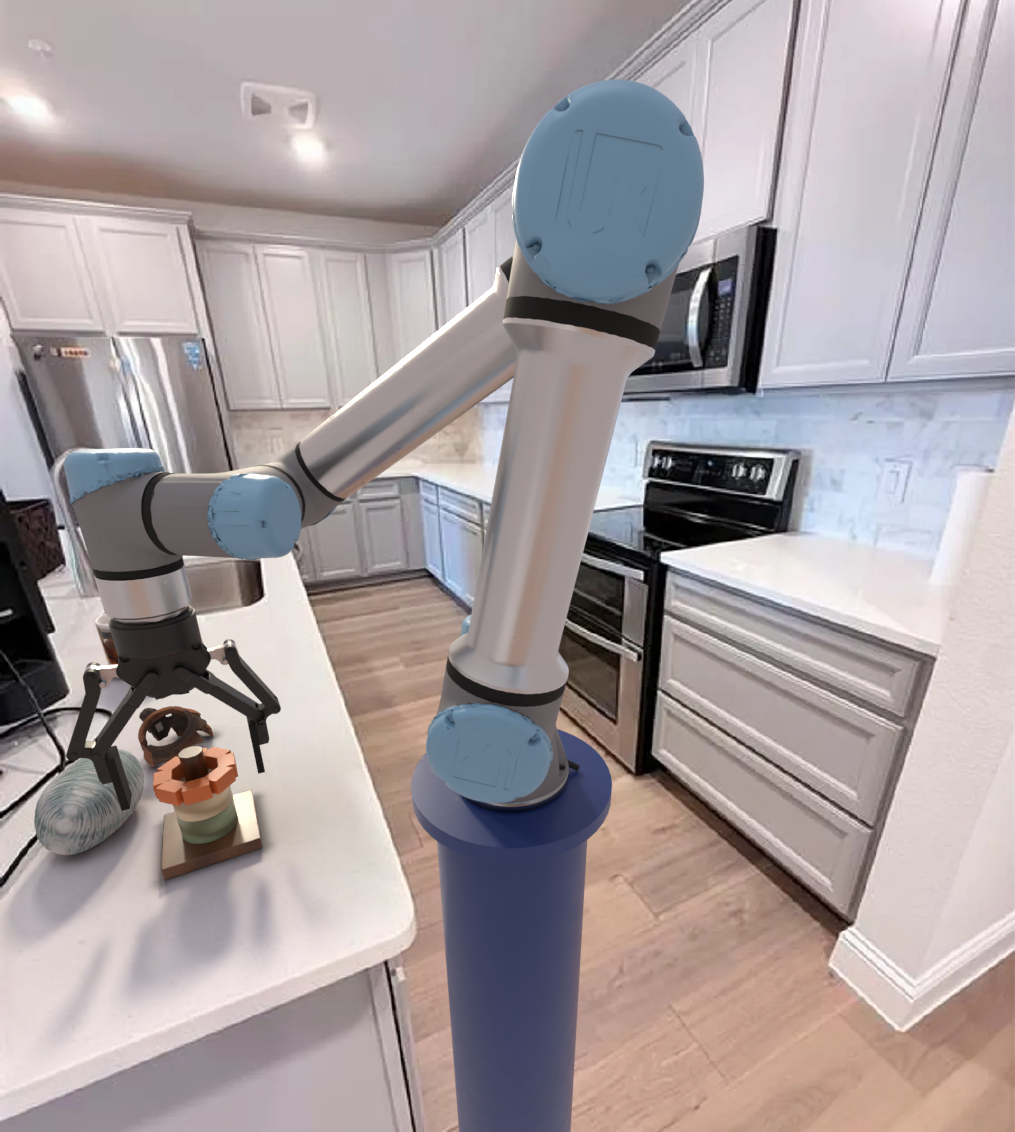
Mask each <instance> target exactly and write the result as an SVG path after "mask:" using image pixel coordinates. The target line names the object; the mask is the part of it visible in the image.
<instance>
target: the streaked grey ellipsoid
mask: <svg viewBox="0 0 1015 1132" xmlns="http://www.w3.org/2000/svg"><path fill="white" fill-rule="evenodd" d="M117 749H118V752H119V755H120V759H121V762H122V765H123V768H124V771H125V774H126V777H127V781H128V784H129V787H130V790H131V793H132V798H131V805H130V809H127V810H123V811H122V810H121V807H120V804H119V801H118V798H117V795H116V792H115V789H114V786H113V783H108V784H104V785H103V784H102V783H101V782H100V781H99V779H98V776H97V773H96V770H95V767H94V764H93V762H92V761H91V760H90V759H87V758H79V759H78V760H75V761H73V763H71V764H70V765H69V766H67V767H66V768H64V770H63V771H61V772H59V773H58V775H56V776H55V777H54V779H52V781H50V783H48V785H47V786H46V787H45V788H44V790H43V791H42V793H41V794H40V796H39V798H38V800H37V801H36V804H35V810H34V818H33V823H34V829H35V834H36V835H35V836H36V838H37V839H38V842H39V843H40V844H41V846H43V847H44V849H46V851H48V852H50V853H53V854H56V855H59V856H60V855H62V856H74V855H77V854H81V853H84V852H87V851H88V850H91V849H92V848H94V847H96V846H97V845H99V844H101V843H102V842H104V841H105V840H106V839H107V838H109V837H110V836H112V835H113V834H114V833H115V832H116V831H118V829H120V828H121V827H122V825H123V824H124V823H125V822H126V821H127V820H128V819H129V818H130V817H131V815H132V814H133V812H134V811H135V810H136V808H137V806H138V804H139V803H140V801H141V797H142V795H143V792H144V787H145V774H144V771H143V767H142V764H141V762H140V760H139V759H138V758H137V757H136V756H135V755H134V754H133V753H132V752H131V751H127V750H125V749H122V748H121V749H120V748H117Z"/></svg>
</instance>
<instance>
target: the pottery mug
mask: <svg viewBox="0 0 1015 1132" xmlns="http://www.w3.org/2000/svg"><path fill="white" fill-rule="evenodd" d="M138 718H139V720H140V721H141V722H142V723H141V724H140V727H139V729H138V733H137V739H138V742H139V744H140V748H141V750H142V752H143V760H144V761H145V762H146V764H148V765H149V766H150V767H152V768H155V767H156V766H157V765H160V764H161V765H162V764H165V763H167V762H168V761H169V760H171V759H172V758H174V757H175V756H177V757H179V756H178V754H179V753H180V752H181V751H182V750H183V749H185V748H188V747H192V746H197V745H198V744H201V743H203V742H205V740H204V738H203V737H202V736H201V735H200V734H199V732H203V733H205V734H206V735H209V737H214V733H213V729H212V727H211V726H210V725H209V724H208V723H207V720H206V719H203V718H202V716H201V712H200V711H197V710H195V709H192V708H187V707H182V706H177V705H173V706H172V705H171V706H170V705H169V706H165V707H162V708H158V709H156V708H152V707H146V708H144V709H142V711H140V713H139V715H138ZM171 729H172V730H173V732H175V734H176V736H177V737H178V738H177V739H176V740H174V741H173V742H170V743H167V744H164V745H153V744H148V740H147V732H148V733H149V734H151V736H152V737H153V738H154V739H155V740H156V741H157V742H160V741H163V739H165V738H167V737H168V736H169V734H170V731H171Z"/></svg>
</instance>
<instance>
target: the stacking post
mask: <svg viewBox="0 0 1015 1132" xmlns="http://www.w3.org/2000/svg"><path fill="white" fill-rule="evenodd" d="M202 748H203V747H201V746H200V745H194V746H192V747H188V748H185V749H183V750H182V751H181V752H180V753H179V754H178V756H179V760H180V763H181V767H182V771H183V774H184V777H182V778H181V779H180V780H178V781H182V782H188V781H192V780H195V779H199V778H203V777H205V776H207V775H208V774H209V773H211V772H212V771H213V770H214V769H210V768H207V764H206V761H205V757H204V753H203V749H202ZM212 795H213V798H210V799H207V800H204V801H200V802H197V803H193V804H190V805H186V806H185V803H184V802H183V803H182V804H181V805H180V806H176V805H172V807H173V810H174V811H173V812H170V813H169V812H168V813H166V814H163V824H162V825H163V826H162V845H161V864H160V865H161V866H160V871H161V874H162V877H163V880H164V881H167V880H170V879H173V878H176V877H179V876H182V875H186V874H188V873H191V872H193V871H197V870H200V869H203V868H205V867H209V866H212V865H214V864H217V863H221V862H223V861H226V860H231V859H233V858H236V857H239V856H241V855H245V854H247V853H250V852H251V853H252V852H254V851H257V850H259V849H260V850H261V849H263V842H262V836H261V831H260V824H259V820H258V814H257V809H256V802H255V798H254V794H253V789H249V790H245V791H242V792H239V793H235V794H233V792H232V787H231V785H230V786H229V787H227V788H226V789H225V790H224V791H223V792H222V793H220V794H219V795H218V794H214V793H212Z"/></svg>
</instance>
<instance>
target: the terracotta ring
mask: <svg viewBox="0 0 1015 1132" xmlns="http://www.w3.org/2000/svg"><path fill="white" fill-rule="evenodd" d="M201 748H202V749H203V753H204V757H205V761H206V764H207V768H210V769H214V770H213V771H212V772H211V773H209V774H208V775H207V776H205V777H203V778H199V779H195V780H192V781H188V782H182V781H178V780H180V779H181V778H182V777H184V774H183V771H182V767H181V763H180V760H179V757H177V756H175V757H174V758H172V759H171V760H169V761H168V762H165V763H163V764H161V766H160V767H158V768H157V769H156V772H153V778H152V789H153V792H154V795H155V798H156V800H158V802H159V803H163V804H168V805H172V806H173V805H176V806H180V805H181V804H182V803H183V802H184V803H185V806H186V805H190V804H193V803H197V802H200V801H204V800H207V799H210V798H213V795H212V793H214V794H218V795H219V794H220V793H222V792H223V791H224V790H225V789H226V788H227V787H229V786H230V787H231V785H232V784H233V783H235V782H236V781H237V778H238V777H239V773H238V766H237V761H236V757H235V753H234V752H232V751H231V749H227V748H223V747H217V746H212V747H210V748H208V747H201Z"/></svg>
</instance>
